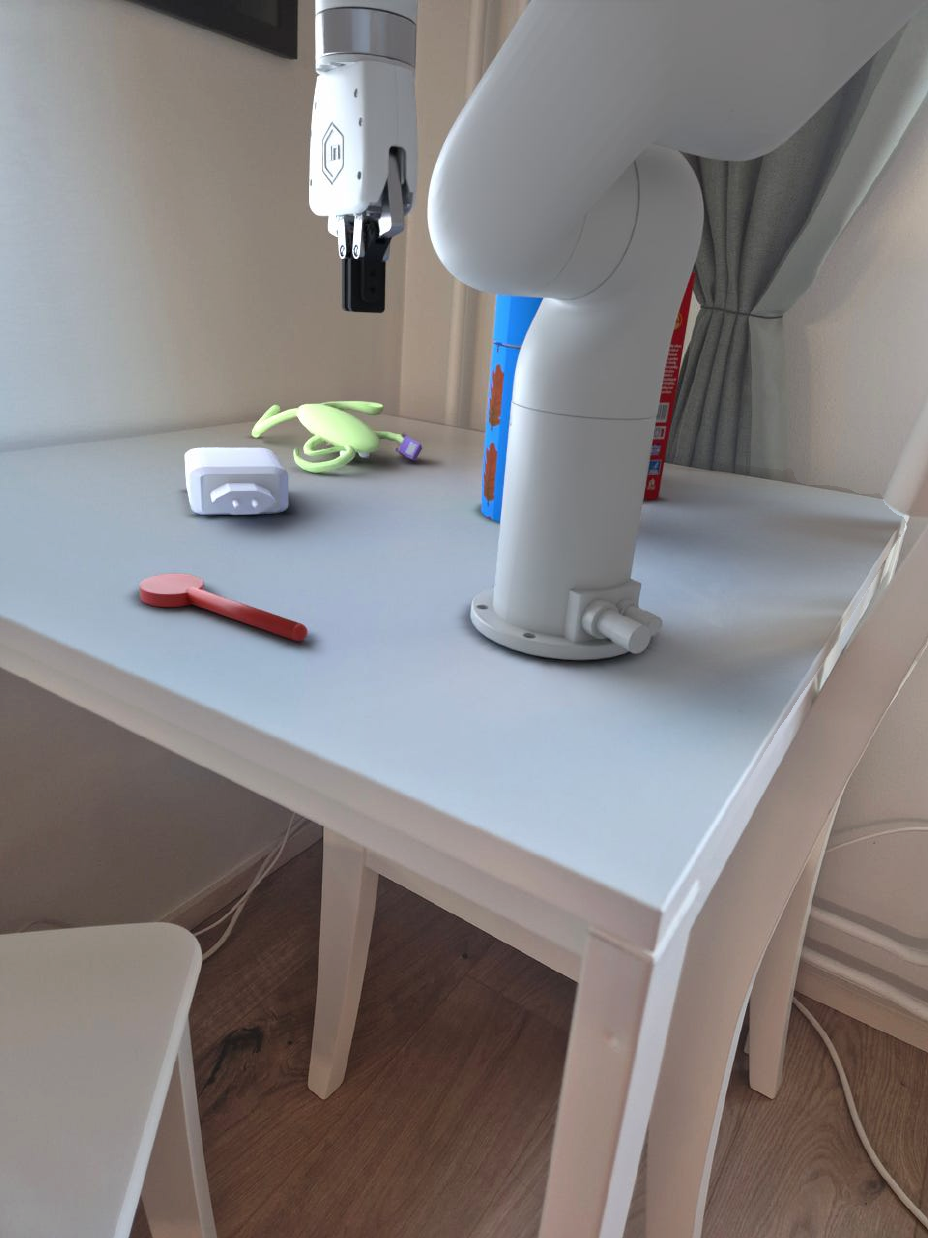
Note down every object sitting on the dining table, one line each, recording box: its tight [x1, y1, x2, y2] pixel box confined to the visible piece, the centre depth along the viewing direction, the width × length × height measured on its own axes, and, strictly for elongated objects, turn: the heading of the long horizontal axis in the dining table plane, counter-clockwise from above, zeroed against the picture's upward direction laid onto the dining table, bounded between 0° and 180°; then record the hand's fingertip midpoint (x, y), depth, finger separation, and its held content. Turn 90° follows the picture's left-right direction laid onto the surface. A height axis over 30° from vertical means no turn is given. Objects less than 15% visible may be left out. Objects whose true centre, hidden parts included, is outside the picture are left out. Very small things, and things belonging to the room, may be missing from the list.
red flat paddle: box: [139, 572, 308, 642], centre depth 58 cm, size 15×4×1 cm, turn 58°
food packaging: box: [643, 272, 696, 501], centre depth 99 cm, size 15×5×25 cm, turn 26°
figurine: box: [251, 400, 423, 474], centre depth 110 cm, size 18×27×6 cm
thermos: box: [480, 294, 543, 523], centre depth 84 cm, size 11×11×25 cm
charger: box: [184, 447, 289, 516], centre depth 81 cm, size 5×9×15 cm
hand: (363, 311), depth 69 cm, fingers closed
